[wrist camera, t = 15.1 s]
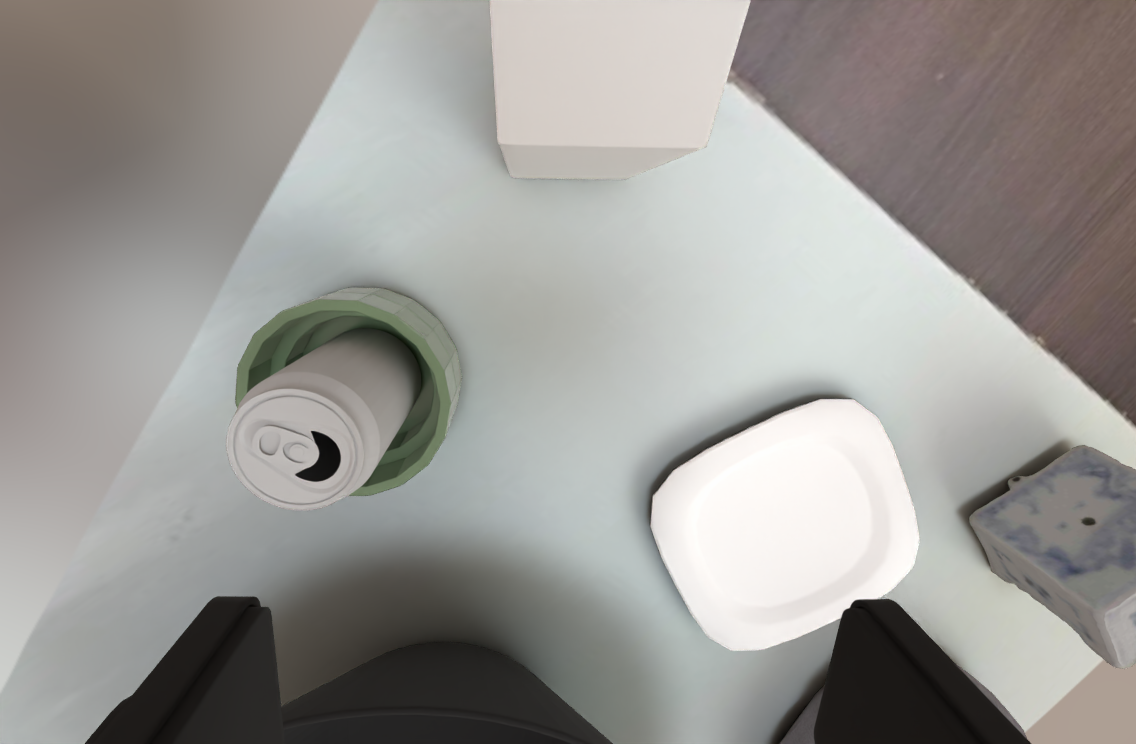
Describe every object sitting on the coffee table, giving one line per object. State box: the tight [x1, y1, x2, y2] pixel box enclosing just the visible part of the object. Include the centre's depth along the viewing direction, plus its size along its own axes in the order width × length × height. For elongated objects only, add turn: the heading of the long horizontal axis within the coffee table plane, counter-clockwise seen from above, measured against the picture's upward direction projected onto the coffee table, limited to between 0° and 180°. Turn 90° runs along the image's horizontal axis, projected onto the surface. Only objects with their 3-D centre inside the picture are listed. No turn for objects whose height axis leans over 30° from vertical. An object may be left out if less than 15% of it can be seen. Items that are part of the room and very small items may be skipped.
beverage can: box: [226, 328, 421, 510], centre depth 29 cm, size 6×6×12 cm
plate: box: [650, 399, 920, 651], centre depth 39 cm, size 18×18×2 cm
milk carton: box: [489, 0, 751, 180], centre depth 22 cm, size 7×7×19 cm
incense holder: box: [969, 445, 1136, 669], centre depth 37 cm, size 10×8×10 cm
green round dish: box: [235, 287, 462, 496], centre depth 32 cm, size 11×11×6 cm
